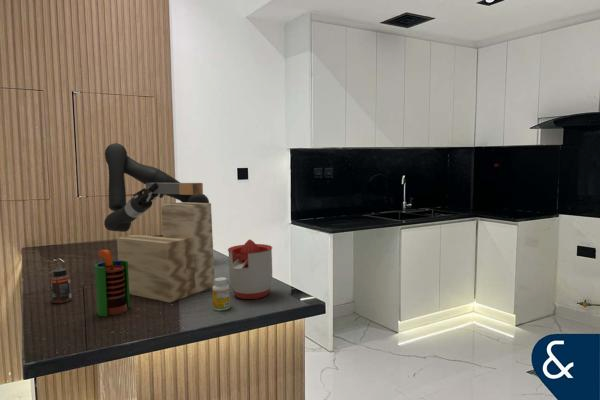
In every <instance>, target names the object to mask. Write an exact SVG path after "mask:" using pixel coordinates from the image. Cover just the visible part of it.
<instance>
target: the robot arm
mask: <svg viewBox="0 0 600 400" xmlns="http://www.w3.org/2000/svg"><path fill="white" fill-rule="evenodd" d="M104 158H105V162H106V164H107V168H108V209H109V210H111V211H112V212H110V213H108V215H107V216H106V217H105V219H104V222H103V223H104V224H103V225H104V227H105V229H106V230H108V231H110V232H111V231H112V232H121V233H122V232H123V233H126V232H128V231H129V230H130V228H131V227H132V226H131V225H132V222H133V221H135V220H136V219H137V218H138V217H140V216H141V215H143V214H144V213H145V212H146V211H148V210H149V209H150V208H151V207H152V205H153V202H154V201H155V200H157V198H160V199H163V198H164V196H168V197H170V198H174V199H176V200H177V201H180V202H189V203H210V200H209V197H208V196H207V195H205V194H204V193H203V194H194V195H180V194H152V192H154V191H155V190H156V189H157V188H158V185H157V183H181V182H180V181H179V180H178V179H176V178H174V177H173V176H171V175H170V174H168V173H166V172H164V171H163V170H161V169H160V168H157V167H154V166H150V165H147V164H143V163H141V162H137V161H136V160H134V159H133V158H132V157H130V156H129V155H128V151H127V149H126V148H125V147H124V146H123V145H122V144H121V143H117V142H114V143H111V144H109V145H108V146H107V147H106V149H105V151H104ZM125 174H126V175H128V176H130V177H132V178H133V179H135V180H137V181H138V182H140V183H141V184H143V185H145V186H146V183H154V184H153V185H152V186H151V187H148V188H147V189H146V187H145V188H142V189H140V190H139V191H137V192H135V193H134V194H133V195H132V196H133V197H131V198H130V199H129V200H128V201H127V195H126V183H125Z"/></svg>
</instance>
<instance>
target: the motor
mask: <svg viewBox="0 0 600 400" xmlns="http://www.w3.org/2000/svg"><path fill="white" fill-rule="evenodd" d="M98 257H99V258H103V259H104V261H101V262H99V263H96V264H94V275H95V276H94V277H95V278H94V279H95V292H96V294H95V295H96V314H97V315H98V316H99V317H106V318H107V317H108V316H115V315H121V314H123V313H125V312H127V311H128V309H129V308H131V304H130V303H131V301H130V294H129V276H128V261H123V260H118V259H117V260H115V259H114V260H113V257H112V254H111V251H110V250H109V249H101V250H99V251H98Z"/></svg>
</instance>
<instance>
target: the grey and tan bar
mask: <svg viewBox="0 0 600 400" xmlns="http://www.w3.org/2000/svg"><path fill="white" fill-rule="evenodd" d="M153 184H154V183H146V185H145V188H146V189H147V188H148V187H151V186H152V185H153ZM157 185H158V188H157V189H156V190H155V191H154V192H152V194H180V195H194V194H204V184H203V182H180V183H157Z"/></svg>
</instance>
